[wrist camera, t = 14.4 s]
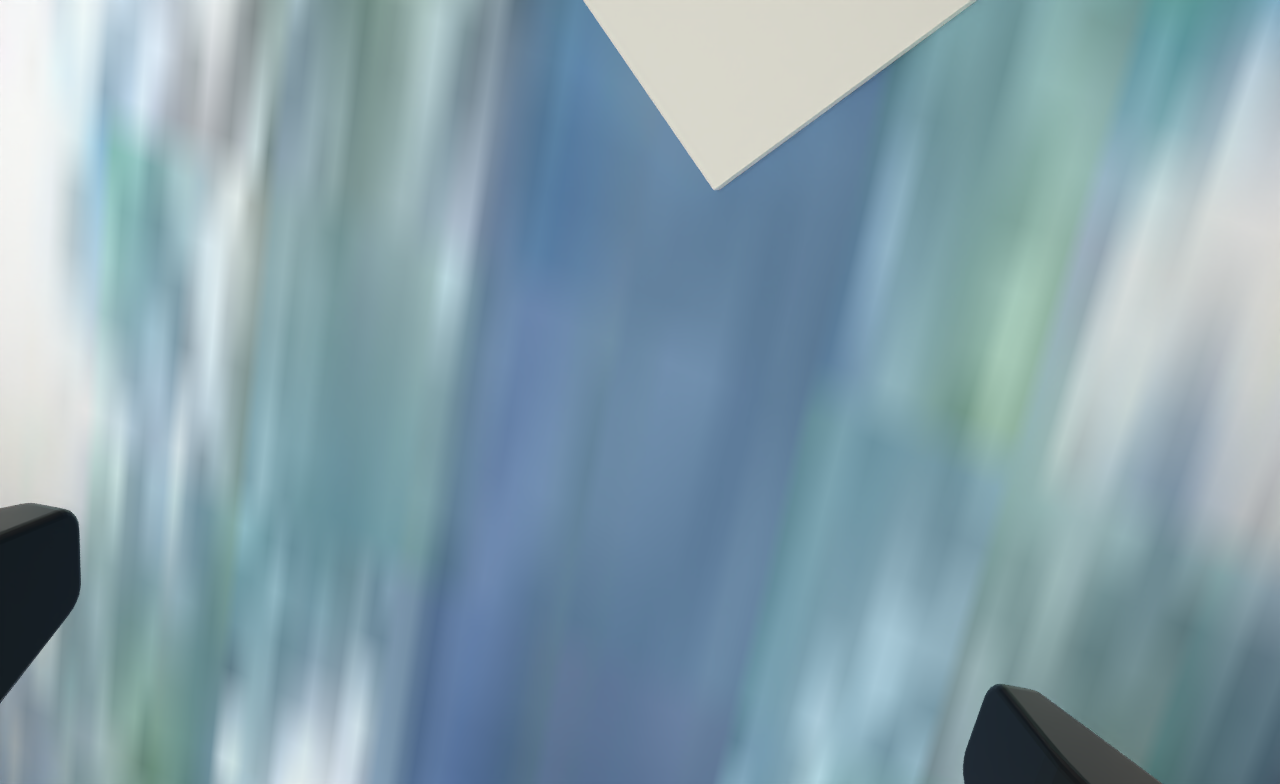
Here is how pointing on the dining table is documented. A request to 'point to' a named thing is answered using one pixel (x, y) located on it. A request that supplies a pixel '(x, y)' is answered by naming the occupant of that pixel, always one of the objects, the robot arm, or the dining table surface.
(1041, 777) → the robot arm
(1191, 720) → the dining table surface
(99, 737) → the dining table surface
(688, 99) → the tray
